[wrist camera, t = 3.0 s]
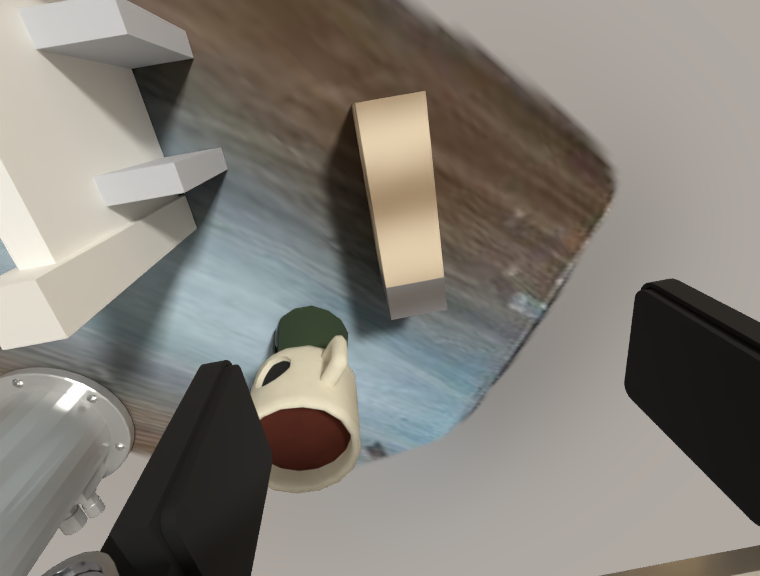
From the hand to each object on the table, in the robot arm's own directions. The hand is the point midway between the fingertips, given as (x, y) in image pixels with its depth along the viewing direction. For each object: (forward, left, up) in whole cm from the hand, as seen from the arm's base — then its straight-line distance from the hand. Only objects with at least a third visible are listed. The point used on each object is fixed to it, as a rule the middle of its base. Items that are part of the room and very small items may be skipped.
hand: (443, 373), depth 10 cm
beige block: (-1, -2, -23) cm, 23 cm away
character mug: (-11, +7, -23) cm, 27 cm away
